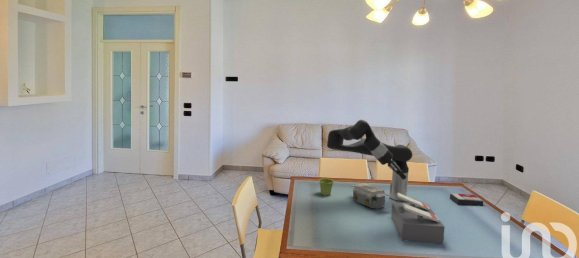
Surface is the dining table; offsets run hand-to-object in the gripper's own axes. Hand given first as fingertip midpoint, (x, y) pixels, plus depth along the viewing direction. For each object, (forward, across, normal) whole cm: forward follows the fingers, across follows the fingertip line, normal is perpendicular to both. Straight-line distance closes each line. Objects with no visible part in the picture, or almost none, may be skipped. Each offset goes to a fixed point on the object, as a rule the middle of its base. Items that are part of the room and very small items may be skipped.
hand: (404, 178), depth 173 cm
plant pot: (-12, -36, -44) cm, 59 cm away
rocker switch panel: (+20, +7, -13) cm, 25 cm away
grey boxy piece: (+6, -25, -27) cm, 37 cm away
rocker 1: (+12, 0, -5) cm, 13 cm away
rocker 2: (+12, +15, -5) cm, 20 cm away
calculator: (+49, -38, +15) cm, 64 cm away
